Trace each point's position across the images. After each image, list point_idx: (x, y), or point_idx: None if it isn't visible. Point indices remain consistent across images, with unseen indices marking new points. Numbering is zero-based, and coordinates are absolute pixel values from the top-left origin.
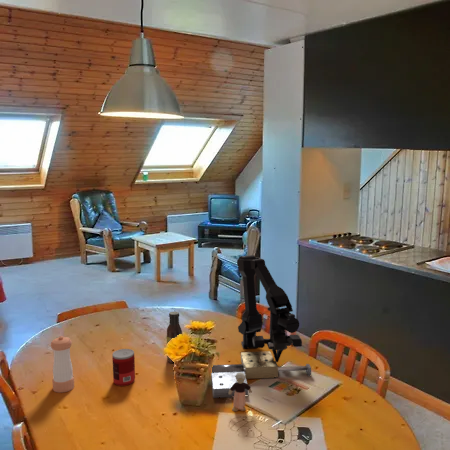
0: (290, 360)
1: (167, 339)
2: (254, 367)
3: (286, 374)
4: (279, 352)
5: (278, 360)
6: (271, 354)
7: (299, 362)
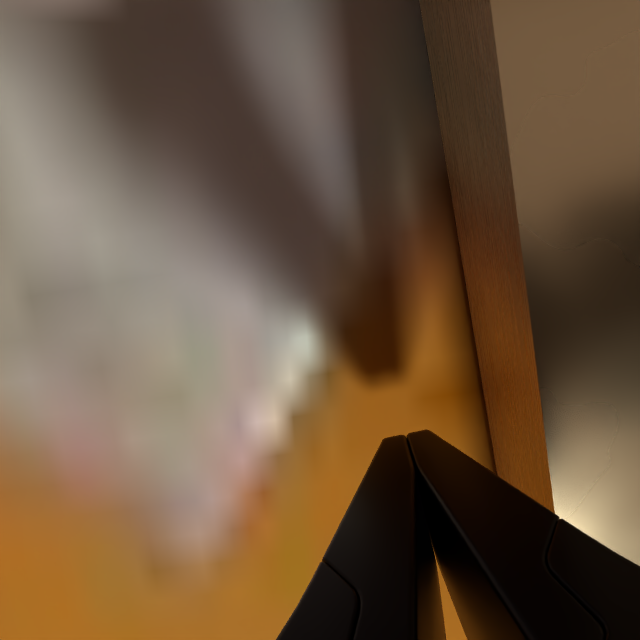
0: (171, 590)
1: None
2: None
3: (167, 2)
4: (374, 635)
5: (375, 454)
6: None
7: (15, 547)
